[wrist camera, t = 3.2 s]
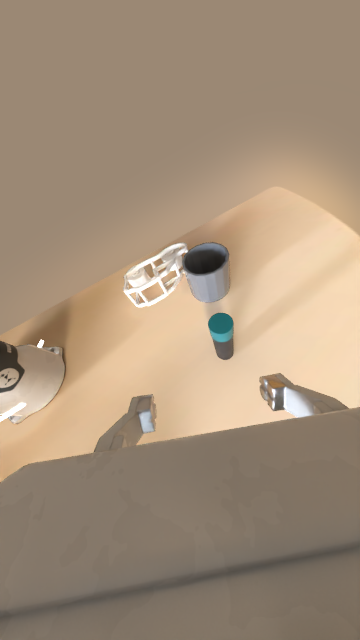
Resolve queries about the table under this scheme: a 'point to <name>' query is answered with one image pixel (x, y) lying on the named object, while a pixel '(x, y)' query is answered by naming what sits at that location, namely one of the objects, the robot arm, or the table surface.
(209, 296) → the pen pot
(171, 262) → the white cage
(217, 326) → the marker pen
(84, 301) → the table surface
